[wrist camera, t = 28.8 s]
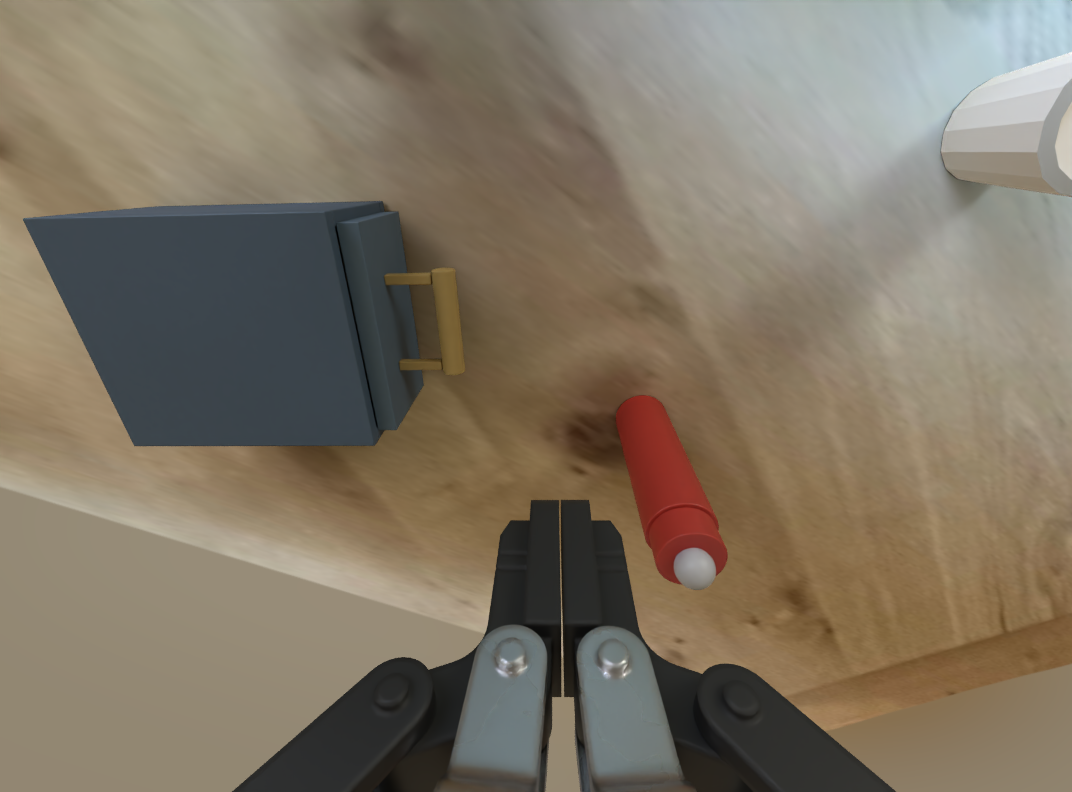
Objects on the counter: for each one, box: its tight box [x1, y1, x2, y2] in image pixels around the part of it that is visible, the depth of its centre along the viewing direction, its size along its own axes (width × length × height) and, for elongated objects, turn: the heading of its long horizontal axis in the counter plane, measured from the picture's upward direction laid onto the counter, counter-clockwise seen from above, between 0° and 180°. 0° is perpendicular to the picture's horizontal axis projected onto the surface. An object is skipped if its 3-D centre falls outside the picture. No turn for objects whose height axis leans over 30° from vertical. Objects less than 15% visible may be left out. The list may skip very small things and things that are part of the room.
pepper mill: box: [616, 395, 728, 590], centre depth 29 cm, size 4×4×16 cm
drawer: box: [335, 212, 465, 430], centre depth 29 cm, size 19×12×7 cm, turn 91°
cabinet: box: [23, 201, 384, 446], centre depth 29 cm, size 16×14×9 cm
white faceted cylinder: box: [941, 52, 1072, 197], centre depth 24 cm, size 7×7×7 cm
